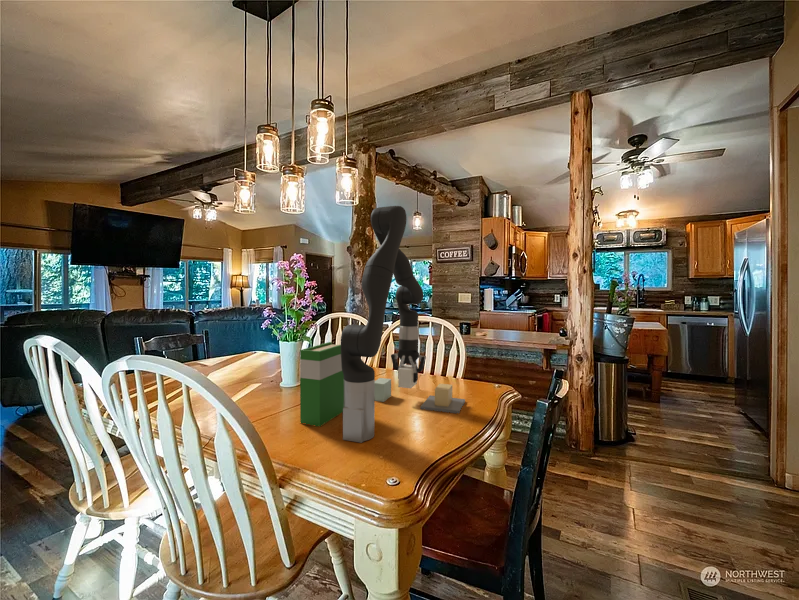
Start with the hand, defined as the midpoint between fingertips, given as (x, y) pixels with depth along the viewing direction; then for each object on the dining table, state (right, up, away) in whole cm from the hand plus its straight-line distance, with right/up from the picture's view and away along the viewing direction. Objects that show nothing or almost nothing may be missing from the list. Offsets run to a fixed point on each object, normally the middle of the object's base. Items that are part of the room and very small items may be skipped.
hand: (407, 381), depth 143 cm
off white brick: (0, -2, 0) cm, 2 cm away
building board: (+13, -8, -4) cm, 16 cm away
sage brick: (-10, -8, +4) cm, 14 cm away
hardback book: (-29, -9, -16) cm, 34 cm away
